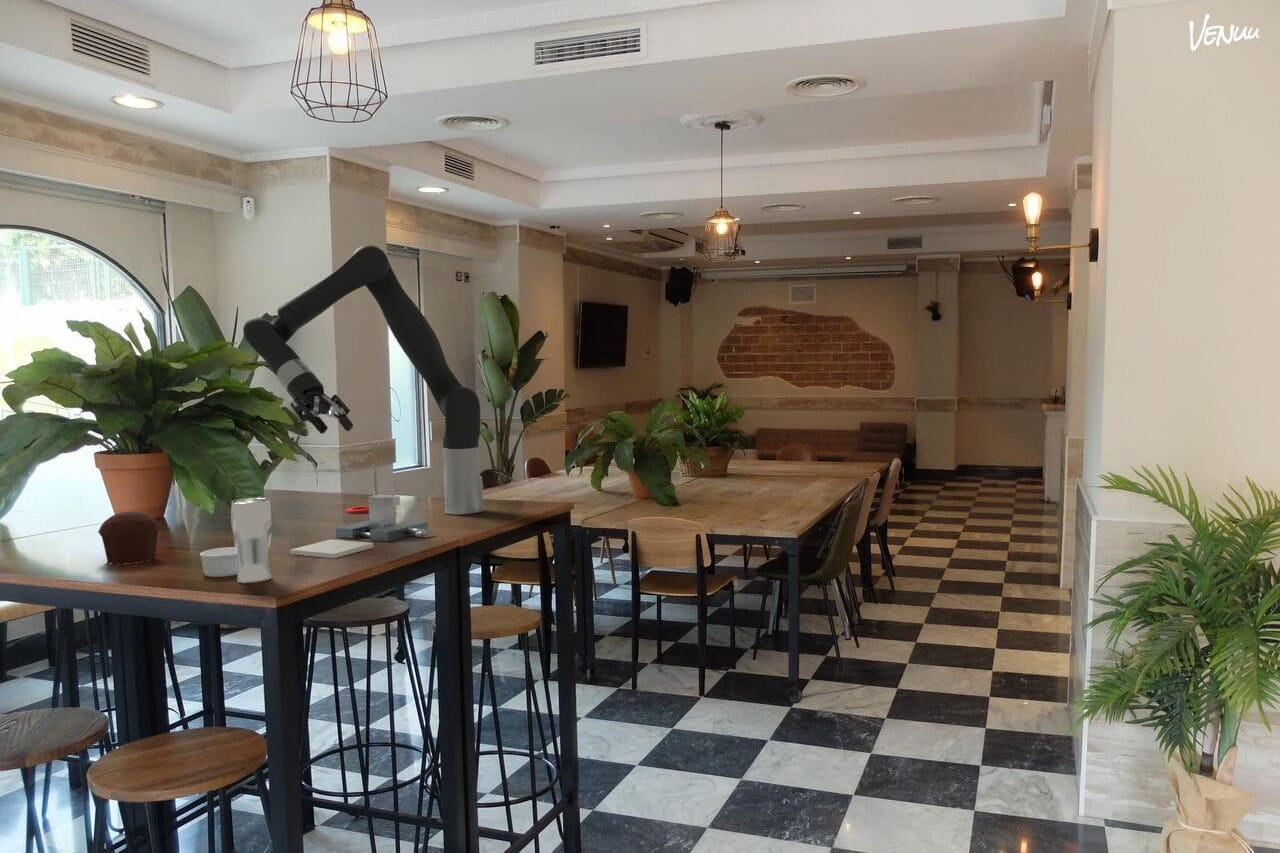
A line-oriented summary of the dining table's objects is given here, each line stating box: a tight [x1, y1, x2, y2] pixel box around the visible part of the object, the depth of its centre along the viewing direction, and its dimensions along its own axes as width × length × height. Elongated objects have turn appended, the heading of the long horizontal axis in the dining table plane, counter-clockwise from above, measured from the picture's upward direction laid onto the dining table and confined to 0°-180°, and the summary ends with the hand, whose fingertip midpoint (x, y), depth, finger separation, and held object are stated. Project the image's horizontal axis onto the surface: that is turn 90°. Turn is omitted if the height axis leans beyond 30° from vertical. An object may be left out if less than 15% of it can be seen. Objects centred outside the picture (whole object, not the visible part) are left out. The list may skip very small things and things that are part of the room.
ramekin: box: [199, 546, 238, 578], centre depth 187 cm, size 9×9×4 cm
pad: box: [290, 539, 374, 559], centre depth 207 cm, size 12×12×1 cm
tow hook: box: [345, 463, 380, 514], centre depth 260 cm, size 8×13×9 cm
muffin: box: [97, 511, 162, 565], centre depth 201 cm, size 12×11×10 cm
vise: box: [335, 519, 435, 543], centre depth 224 cm, size 20×14×2 cm
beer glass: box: [230, 497, 273, 584], centre depth 180 cm, size 7×7×15 cm
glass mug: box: [368, 494, 401, 531], centre depth 225 cm, size 6×4×9 cm, turn 64°
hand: (337, 429), depth 230 cm, fingers open, 8 cm apart
